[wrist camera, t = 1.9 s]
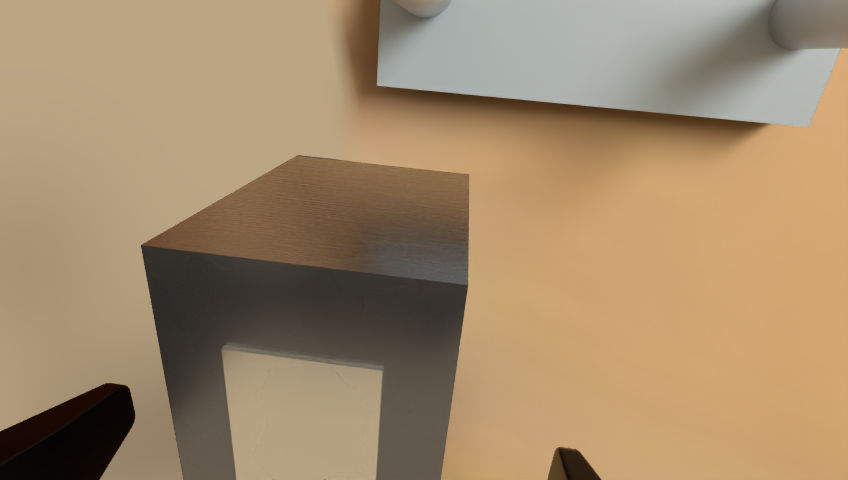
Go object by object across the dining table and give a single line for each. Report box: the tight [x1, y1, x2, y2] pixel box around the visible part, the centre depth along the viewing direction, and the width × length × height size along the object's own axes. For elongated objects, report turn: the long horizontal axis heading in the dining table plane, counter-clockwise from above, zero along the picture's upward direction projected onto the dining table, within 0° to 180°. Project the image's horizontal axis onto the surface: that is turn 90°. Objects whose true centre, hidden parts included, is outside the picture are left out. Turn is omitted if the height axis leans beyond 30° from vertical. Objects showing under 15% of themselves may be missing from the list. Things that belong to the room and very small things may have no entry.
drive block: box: [141, 155, 469, 480], centre depth 10 cm, size 9×4×6 cm, turn 175°
